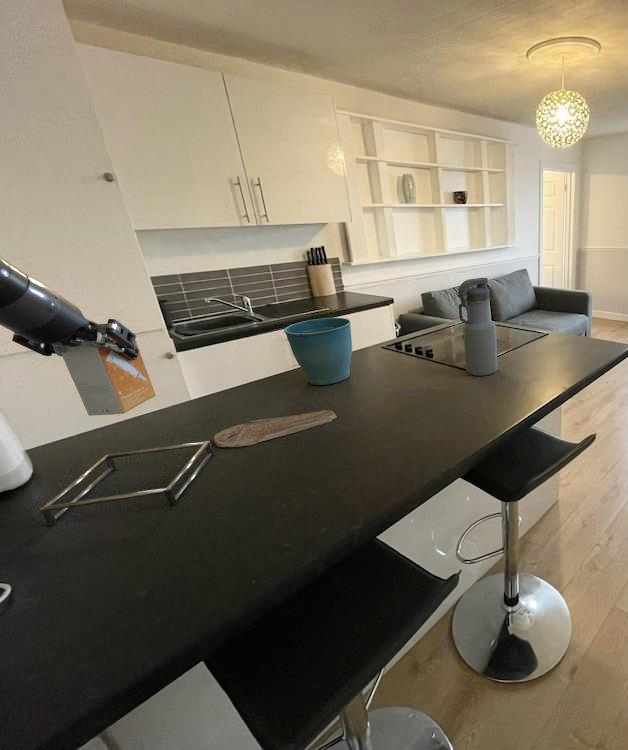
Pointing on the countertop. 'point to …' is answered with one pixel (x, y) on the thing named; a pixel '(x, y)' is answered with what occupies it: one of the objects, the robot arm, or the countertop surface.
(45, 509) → the metal rack
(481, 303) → the water bottle
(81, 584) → the countertop surface
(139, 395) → the small box
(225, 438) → the fish fossil
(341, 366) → the flower pot
